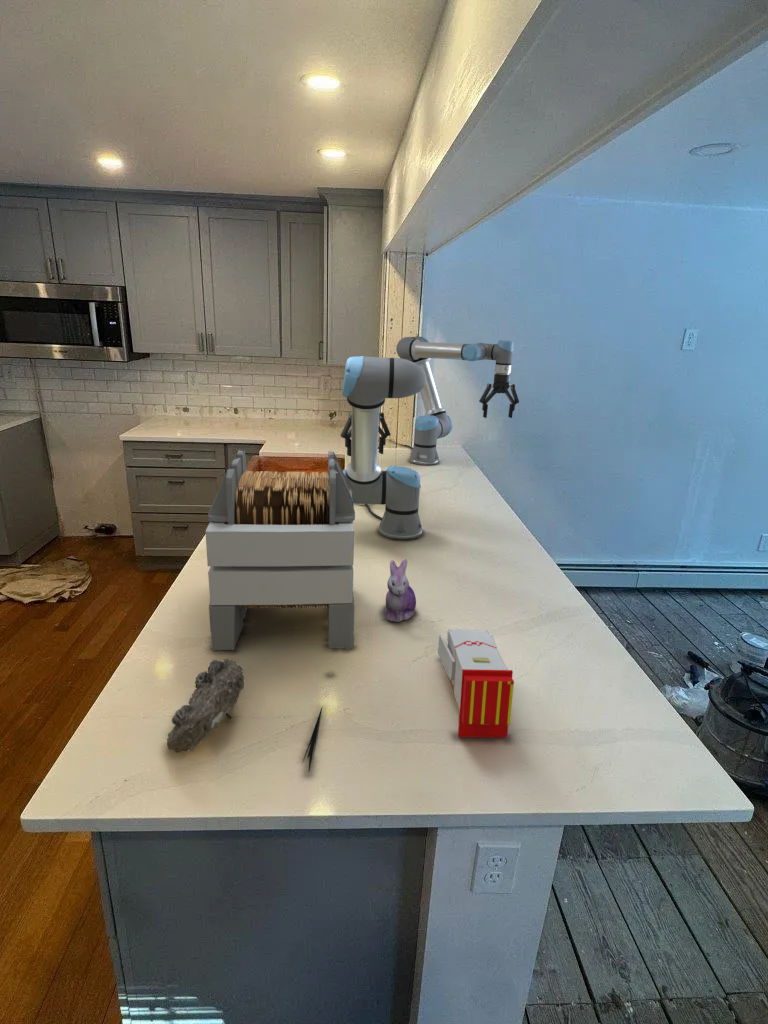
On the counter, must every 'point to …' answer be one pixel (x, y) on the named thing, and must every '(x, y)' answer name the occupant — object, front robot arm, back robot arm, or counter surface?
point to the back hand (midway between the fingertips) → (497, 417)
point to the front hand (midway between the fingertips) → (365, 454)
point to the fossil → (206, 705)
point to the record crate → (281, 548)
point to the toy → (478, 682)
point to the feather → (313, 740)
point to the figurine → (399, 594)
